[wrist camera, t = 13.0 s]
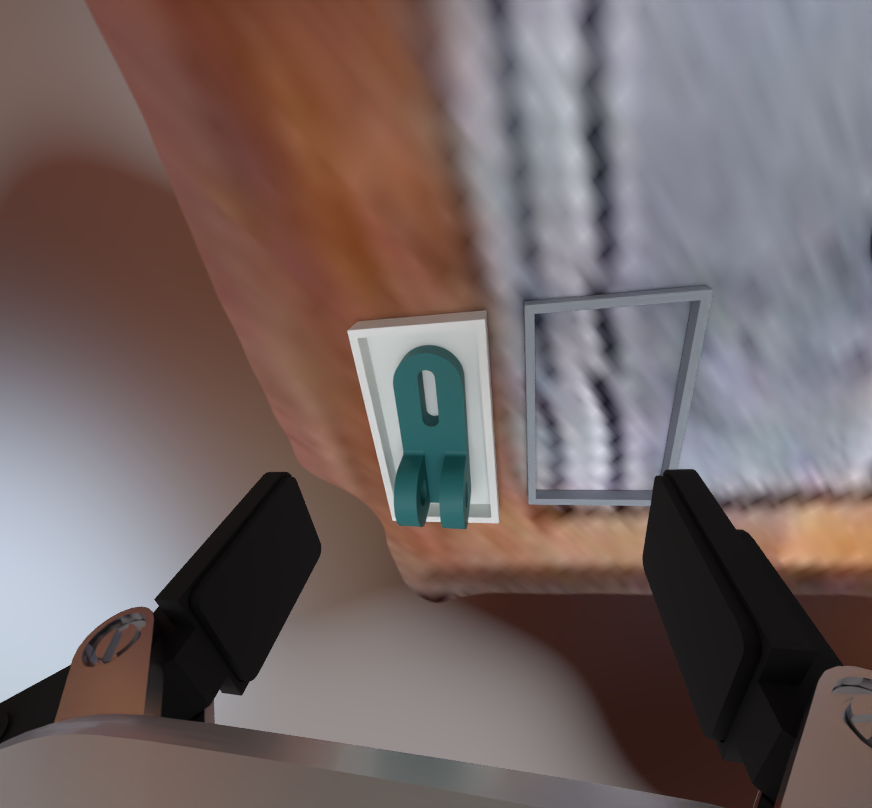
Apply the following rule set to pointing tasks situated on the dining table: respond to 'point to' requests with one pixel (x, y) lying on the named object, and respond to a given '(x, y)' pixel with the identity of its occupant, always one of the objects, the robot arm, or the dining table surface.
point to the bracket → (432, 440)
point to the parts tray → (430, 395)
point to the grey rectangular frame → (683, 395)
